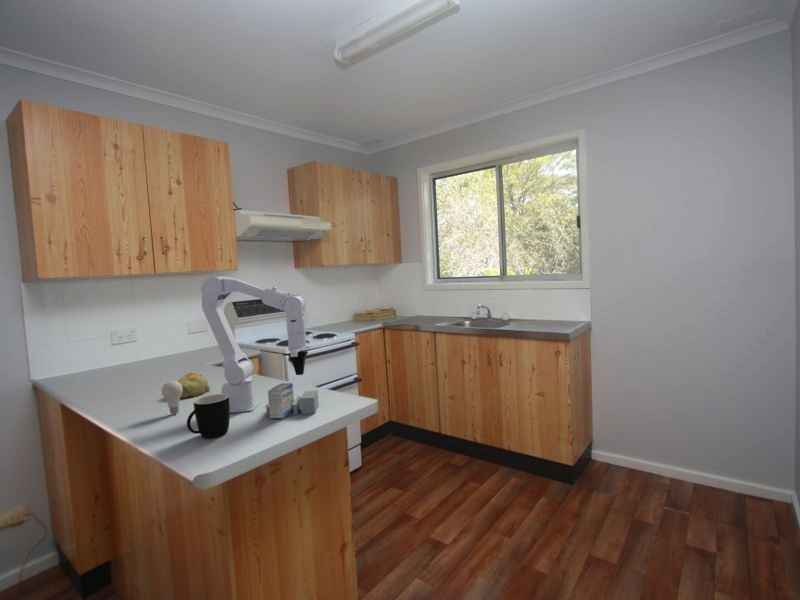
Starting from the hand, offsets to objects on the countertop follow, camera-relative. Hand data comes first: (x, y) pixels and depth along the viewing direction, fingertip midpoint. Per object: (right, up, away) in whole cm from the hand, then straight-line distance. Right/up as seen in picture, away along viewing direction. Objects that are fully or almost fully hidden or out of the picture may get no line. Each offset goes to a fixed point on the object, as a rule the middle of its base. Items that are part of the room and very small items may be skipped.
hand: (299, 374), depth 138 cm
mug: (-20, -13, -21) cm, 32 cm away
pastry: (-48, -12, +24) cm, 55 cm away
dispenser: (-1, -11, -5) cm, 12 cm away
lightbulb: (-41, -13, 0) cm, 43 cm away
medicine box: (-3, -11, -8) cm, 14 cm away
